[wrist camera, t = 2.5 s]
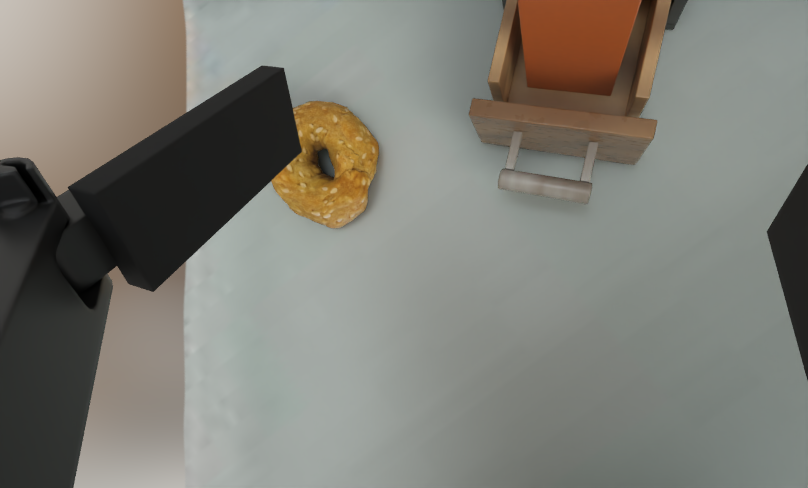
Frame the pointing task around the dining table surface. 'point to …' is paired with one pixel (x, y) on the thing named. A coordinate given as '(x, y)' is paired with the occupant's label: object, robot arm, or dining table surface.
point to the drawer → (569, 109)
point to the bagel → (349, 156)
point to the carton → (575, 42)
